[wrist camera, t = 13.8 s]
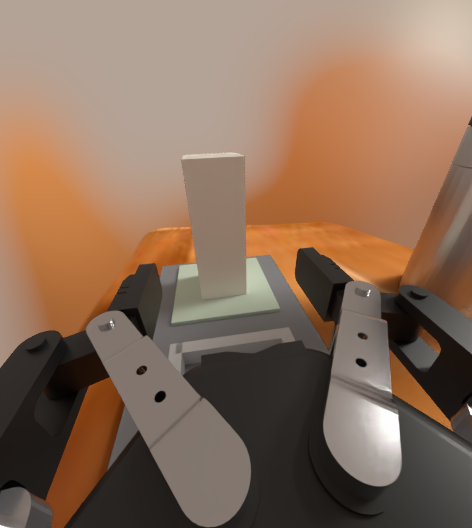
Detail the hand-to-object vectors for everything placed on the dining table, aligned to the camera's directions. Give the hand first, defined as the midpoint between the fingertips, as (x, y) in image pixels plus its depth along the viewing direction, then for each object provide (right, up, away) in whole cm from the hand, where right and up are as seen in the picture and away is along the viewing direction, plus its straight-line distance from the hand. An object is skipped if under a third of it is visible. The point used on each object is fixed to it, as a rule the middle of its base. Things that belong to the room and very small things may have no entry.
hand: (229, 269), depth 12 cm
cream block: (-1, -2, +14) cm, 14 cm away
